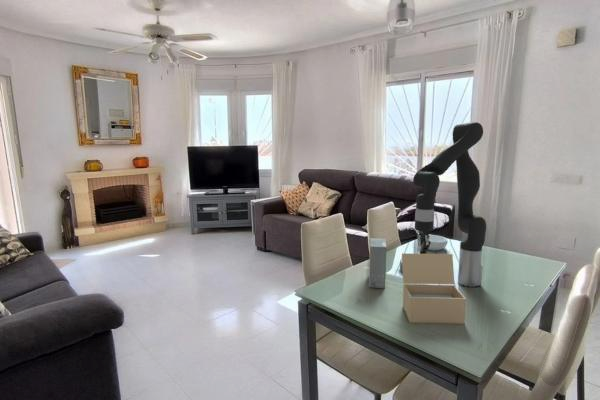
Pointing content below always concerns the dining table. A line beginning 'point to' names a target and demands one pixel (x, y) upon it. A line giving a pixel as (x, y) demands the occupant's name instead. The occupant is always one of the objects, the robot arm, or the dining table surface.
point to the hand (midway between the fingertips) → (422, 258)
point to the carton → (434, 304)
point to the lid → (428, 268)
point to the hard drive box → (377, 263)
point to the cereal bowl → (437, 242)
